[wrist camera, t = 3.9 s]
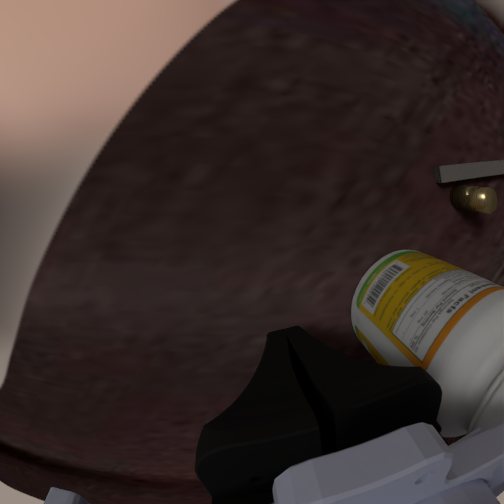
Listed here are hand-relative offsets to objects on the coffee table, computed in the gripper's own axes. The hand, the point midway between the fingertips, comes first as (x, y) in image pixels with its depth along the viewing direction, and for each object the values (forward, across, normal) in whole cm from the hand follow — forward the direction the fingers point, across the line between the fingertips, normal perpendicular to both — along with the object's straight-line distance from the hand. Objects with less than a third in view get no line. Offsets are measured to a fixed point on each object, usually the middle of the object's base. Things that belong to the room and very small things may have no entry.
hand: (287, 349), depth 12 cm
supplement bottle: (+2, -6, 0) cm, 6 cm away
